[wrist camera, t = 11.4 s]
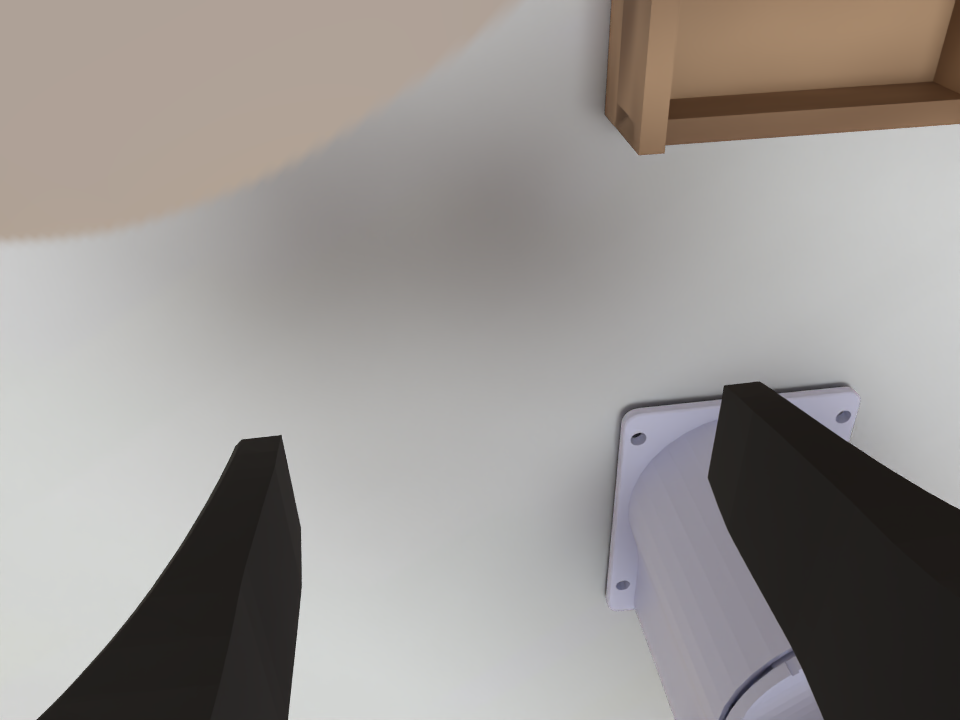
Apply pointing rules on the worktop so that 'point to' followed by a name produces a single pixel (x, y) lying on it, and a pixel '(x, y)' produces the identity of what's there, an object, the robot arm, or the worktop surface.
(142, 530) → the worktop surface
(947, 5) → the spice rack
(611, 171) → the worktop surface
